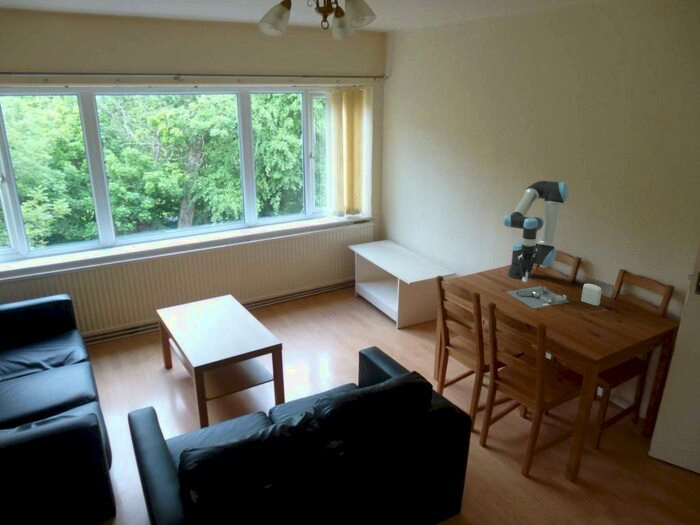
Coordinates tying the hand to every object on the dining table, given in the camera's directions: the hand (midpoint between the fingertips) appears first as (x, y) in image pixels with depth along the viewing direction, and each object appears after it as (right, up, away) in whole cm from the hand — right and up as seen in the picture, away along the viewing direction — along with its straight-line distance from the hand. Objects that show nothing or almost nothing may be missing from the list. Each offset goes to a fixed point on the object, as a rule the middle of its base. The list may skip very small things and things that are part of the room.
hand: (524, 281), depth 301 cm
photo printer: (+35, -13, -10) cm, 38 cm away
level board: (+7, -10, -1) cm, 12 cm away
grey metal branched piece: (+4, -9, -1) cm, 10 cm away
